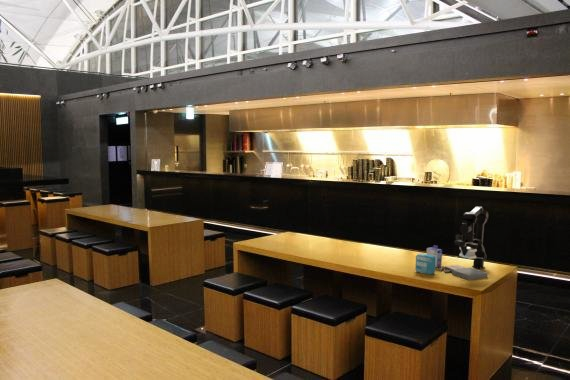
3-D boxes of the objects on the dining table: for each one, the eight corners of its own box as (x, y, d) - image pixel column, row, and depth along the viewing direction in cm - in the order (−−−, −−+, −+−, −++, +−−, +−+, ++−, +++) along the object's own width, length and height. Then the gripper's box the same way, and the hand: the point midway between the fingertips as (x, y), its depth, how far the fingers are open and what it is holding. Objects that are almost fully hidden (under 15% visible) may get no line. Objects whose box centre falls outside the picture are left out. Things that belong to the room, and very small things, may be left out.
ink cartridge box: (442, 266, 339) (442, 246, 337) (436, 267, 336) (437, 247, 334) (430, 263, 347) (431, 243, 346) (425, 264, 344) (426, 244, 343)
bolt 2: (450, 271, 326) (450, 268, 326) (453, 272, 324) (453, 269, 324) (444, 272, 324) (444, 269, 323) (446, 273, 322) (446, 269, 321)
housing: (466, 255, 322) (466, 246, 322) (476, 258, 314) (476, 249, 314) (459, 255, 320) (459, 247, 320) (469, 258, 312) (469, 249, 311)
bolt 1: (441, 269, 332) (441, 265, 332) (444, 269, 331) (445, 266, 330) (438, 270, 328) (438, 267, 328) (441, 271, 326) (441, 268, 326)
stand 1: (456, 267, 337) (457, 264, 336) (468, 271, 327) (469, 268, 326) (444, 269, 332) (444, 266, 332) (456, 273, 322) (456, 270, 322)
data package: (415, 271, 325) (415, 254, 324) (417, 270, 329) (418, 253, 327) (432, 274, 318) (433, 257, 317) (435, 273, 321) (435, 255, 320)
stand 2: (469, 271, 326) (470, 267, 326) (487, 277, 313) (487, 272, 312) (451, 274, 320) (452, 269, 320) (468, 280, 306) (469, 275, 306)
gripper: (470, 229, 327) (469, 251, 328) (449, 230, 319) (448, 253, 321) (483, 231, 316) (482, 255, 318) (461, 233, 309) (460, 257, 311)
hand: (467, 255), depth 317 cm, fingers closed on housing, 6 cm apart
